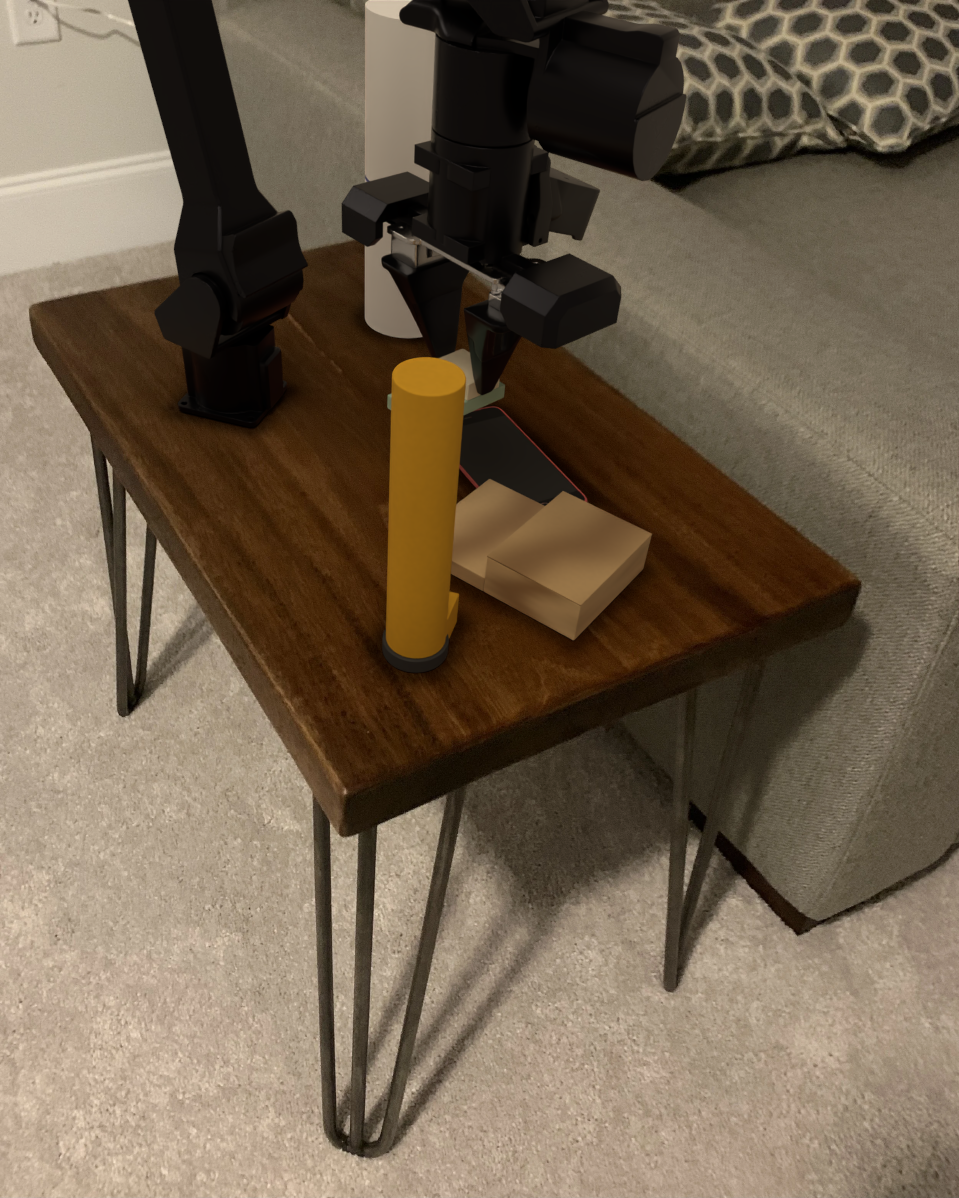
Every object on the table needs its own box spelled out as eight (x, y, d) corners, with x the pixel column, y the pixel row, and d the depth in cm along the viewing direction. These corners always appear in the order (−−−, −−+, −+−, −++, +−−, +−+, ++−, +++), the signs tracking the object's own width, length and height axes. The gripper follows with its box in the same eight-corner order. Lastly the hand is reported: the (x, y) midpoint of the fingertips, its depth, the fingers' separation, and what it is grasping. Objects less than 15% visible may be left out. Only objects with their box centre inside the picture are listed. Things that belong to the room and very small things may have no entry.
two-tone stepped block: (423, 433, 64) (424, 403, 63) (386, 408, 66) (387, 377, 65) (504, 397, 68) (507, 368, 67) (467, 374, 70) (469, 345, 68)
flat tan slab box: (410, 552, 70) (412, 516, 68) (488, 491, 75) (491, 456, 73) (573, 641, 65) (581, 605, 63) (643, 569, 70) (652, 533, 68)
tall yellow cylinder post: (436, 680, 61) (456, 405, 48) (372, 663, 62) (376, 387, 49) (461, 622, 65) (486, 353, 52) (401, 607, 66) (411, 336, 53)
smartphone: (510, 526, 72) (420, 422, 81) (509, 533, 73) (419, 428, 81) (593, 501, 75) (497, 403, 84) (592, 508, 75) (497, 409, 84)
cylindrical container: (356, 302, 95) (355, -6, 78) (432, 296, 97) (447, -6, 80) (374, 341, 90) (377, 21, 73) (453, 334, 92) (474, 21, 75)
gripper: (708, 155, 56) (654, 403, 67) (475, 61, 66) (459, 291, 76) (568, 199, 50) (533, 464, 61) (333, 89, 60) (338, 334, 70)
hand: (464, 379), depth 67 cm, fingers closed on two-tone stepped block, 3 cm apart
